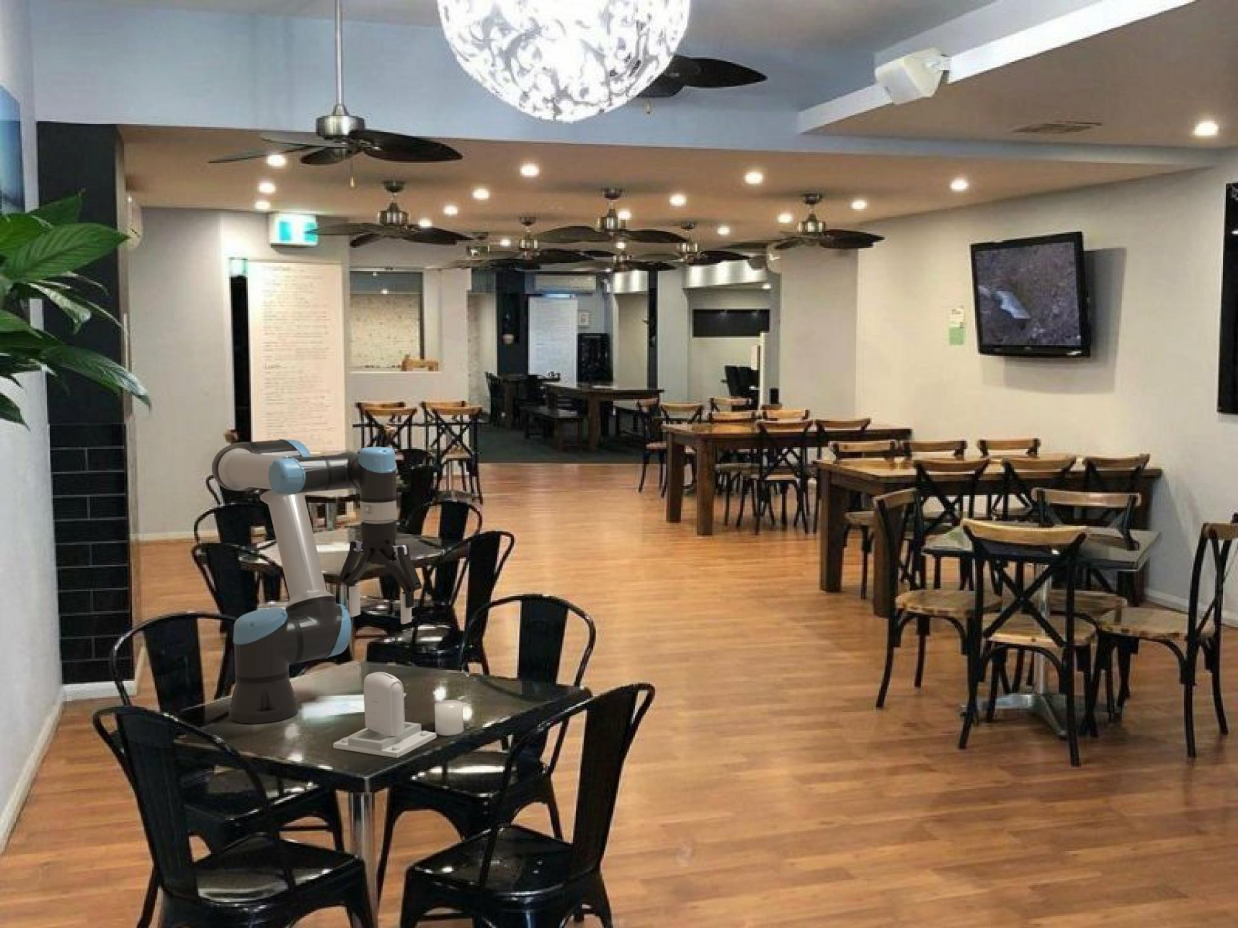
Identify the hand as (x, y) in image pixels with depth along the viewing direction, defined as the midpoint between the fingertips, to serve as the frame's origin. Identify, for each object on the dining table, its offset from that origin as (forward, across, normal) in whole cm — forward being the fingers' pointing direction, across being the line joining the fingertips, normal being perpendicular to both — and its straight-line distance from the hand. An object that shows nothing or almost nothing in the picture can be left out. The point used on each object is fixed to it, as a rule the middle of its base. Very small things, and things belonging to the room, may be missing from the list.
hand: (380, 619), depth 254 cm
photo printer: (+22, +5, -6) cm, 24 cm away
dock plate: (+25, +5, -6) cm, 26 cm away
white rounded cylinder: (+25, +13, +6) cm, 29 cm away
